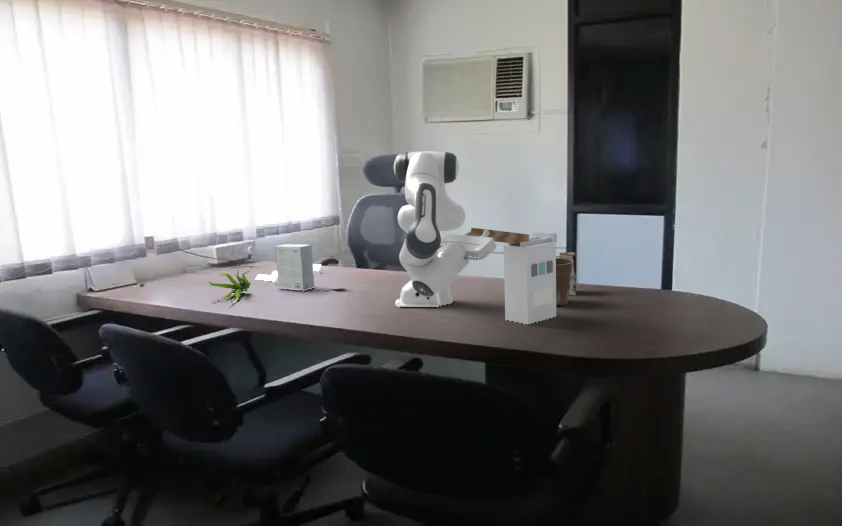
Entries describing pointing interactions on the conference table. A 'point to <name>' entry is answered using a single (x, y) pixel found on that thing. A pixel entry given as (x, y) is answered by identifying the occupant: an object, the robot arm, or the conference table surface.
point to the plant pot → (563, 280)
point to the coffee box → (573, 273)
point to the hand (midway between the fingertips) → (481, 231)
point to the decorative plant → (235, 285)
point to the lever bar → (502, 236)
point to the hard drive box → (295, 266)
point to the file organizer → (274, 275)
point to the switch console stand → (530, 279)
